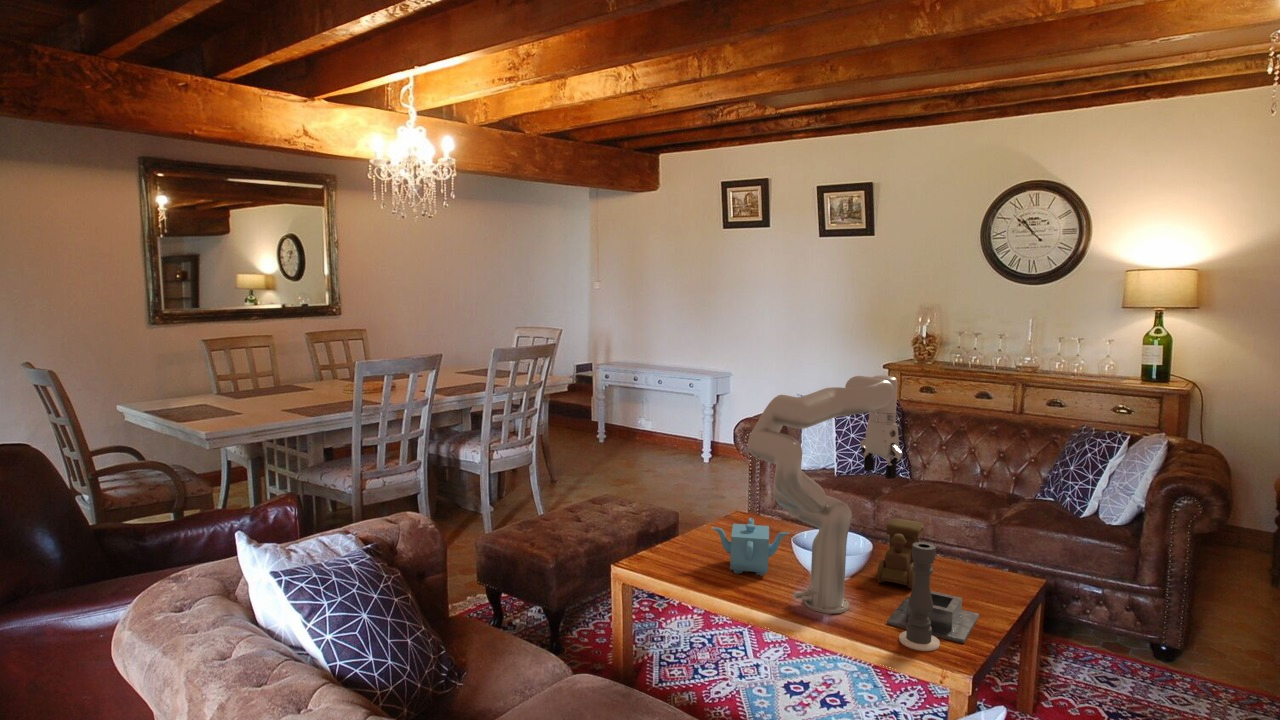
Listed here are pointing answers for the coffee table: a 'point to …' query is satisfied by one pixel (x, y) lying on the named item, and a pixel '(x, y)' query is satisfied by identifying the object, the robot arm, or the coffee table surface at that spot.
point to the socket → (941, 617)
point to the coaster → (921, 647)
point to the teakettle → (749, 547)
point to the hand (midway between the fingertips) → (879, 474)
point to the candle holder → (921, 594)
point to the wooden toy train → (900, 552)
